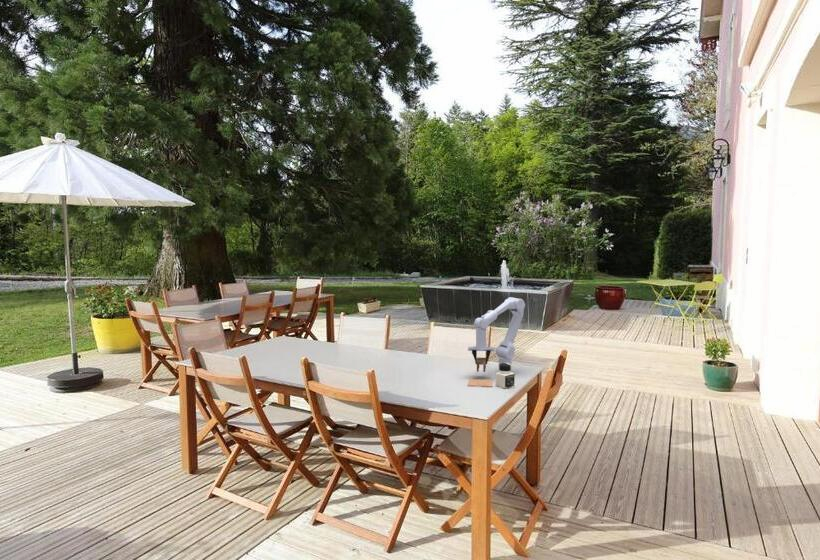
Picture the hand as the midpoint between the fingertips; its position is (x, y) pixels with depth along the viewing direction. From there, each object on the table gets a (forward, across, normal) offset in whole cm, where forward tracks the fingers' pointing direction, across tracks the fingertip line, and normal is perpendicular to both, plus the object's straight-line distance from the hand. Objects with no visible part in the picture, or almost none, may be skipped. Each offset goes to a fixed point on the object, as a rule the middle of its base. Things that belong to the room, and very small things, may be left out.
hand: (481, 363), depth 292 cm
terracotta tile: (+8, 0, -11) cm, 14 cm away
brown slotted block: (+3, 0, 0) cm, 3 cm away
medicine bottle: (+8, +13, -14) cm, 21 cm away
